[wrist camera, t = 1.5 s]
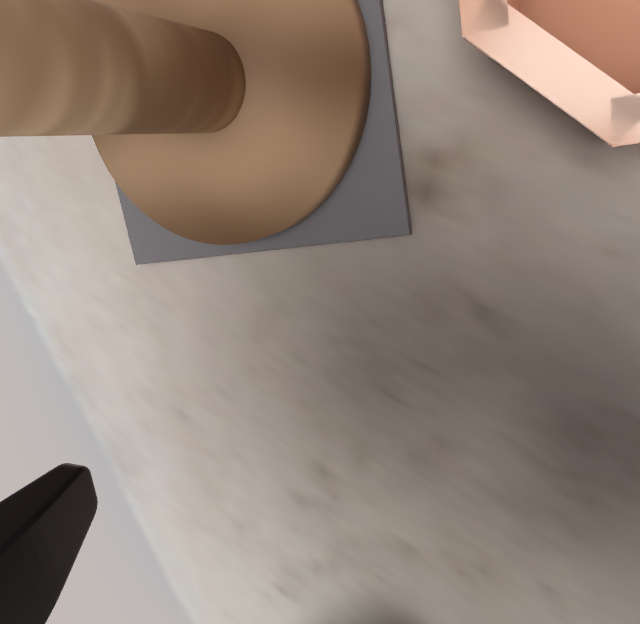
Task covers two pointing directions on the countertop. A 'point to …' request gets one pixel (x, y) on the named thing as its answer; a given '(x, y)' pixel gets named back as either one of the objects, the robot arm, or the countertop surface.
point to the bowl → (568, 56)
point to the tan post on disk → (196, 101)
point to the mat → (345, 201)
